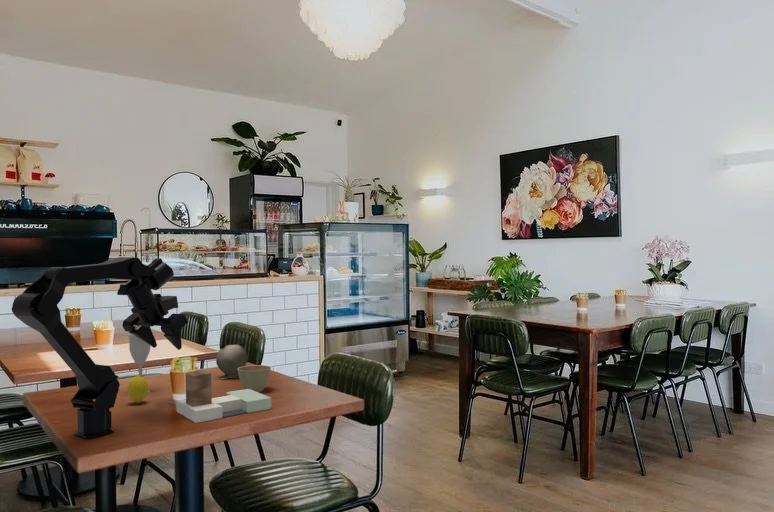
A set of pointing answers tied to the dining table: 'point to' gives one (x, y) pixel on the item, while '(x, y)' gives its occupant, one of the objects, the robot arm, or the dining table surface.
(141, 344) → the chalice
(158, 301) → the robot arm
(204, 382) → the walnut block
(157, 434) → the dining table surface
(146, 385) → the lemon
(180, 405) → the board
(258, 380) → the flower pot
